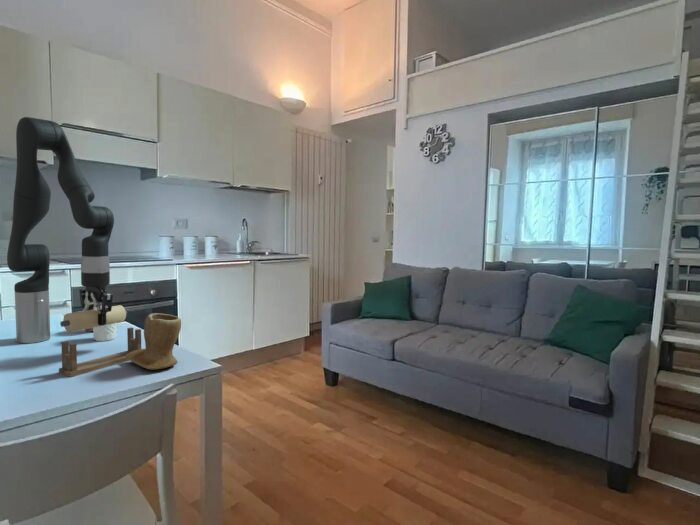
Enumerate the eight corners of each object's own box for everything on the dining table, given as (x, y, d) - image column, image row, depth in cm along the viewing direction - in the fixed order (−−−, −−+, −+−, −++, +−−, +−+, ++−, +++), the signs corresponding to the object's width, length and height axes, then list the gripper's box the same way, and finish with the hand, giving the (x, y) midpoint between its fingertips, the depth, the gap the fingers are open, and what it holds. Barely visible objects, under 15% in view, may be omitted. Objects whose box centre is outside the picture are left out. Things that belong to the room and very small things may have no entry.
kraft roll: (56, 331, 118) (56, 313, 118) (120, 319, 136) (120, 303, 135) (67, 335, 116) (67, 316, 115) (131, 322, 133) (131, 305, 132)
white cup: (106, 342, 137) (105, 314, 137) (86, 340, 139) (85, 312, 138) (123, 336, 145) (122, 309, 144) (104, 335, 147) (104, 308, 146)
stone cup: (188, 365, 117) (188, 315, 116) (147, 376, 108) (146, 321, 107) (164, 354, 127) (164, 307, 125) (124, 363, 118) (123, 313, 116)
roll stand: (58, 372, 108) (57, 342, 108) (132, 353, 127) (131, 326, 126) (70, 377, 106) (70, 345, 105) (144, 356, 124) (143, 329, 123)
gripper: (69, 269, 124) (70, 322, 125) (96, 273, 117) (97, 329, 119) (94, 267, 131) (94, 318, 132) (121, 271, 124) (122, 324, 126)
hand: (96, 323), depth 126 cm, fingers closed on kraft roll, 5 cm apart
